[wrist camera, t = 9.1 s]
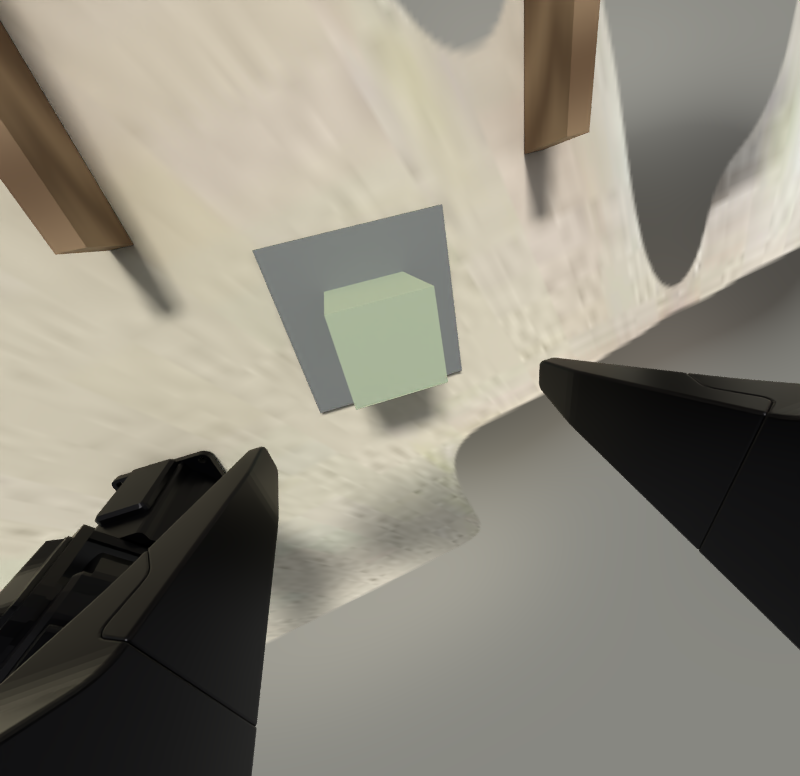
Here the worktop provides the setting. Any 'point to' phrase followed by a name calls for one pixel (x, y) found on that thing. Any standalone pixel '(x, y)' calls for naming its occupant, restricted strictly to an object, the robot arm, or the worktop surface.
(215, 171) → the worktop surface
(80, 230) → the brown open-sided frame
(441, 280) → the slate mat
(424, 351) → the sage block
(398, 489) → the worktop surface
